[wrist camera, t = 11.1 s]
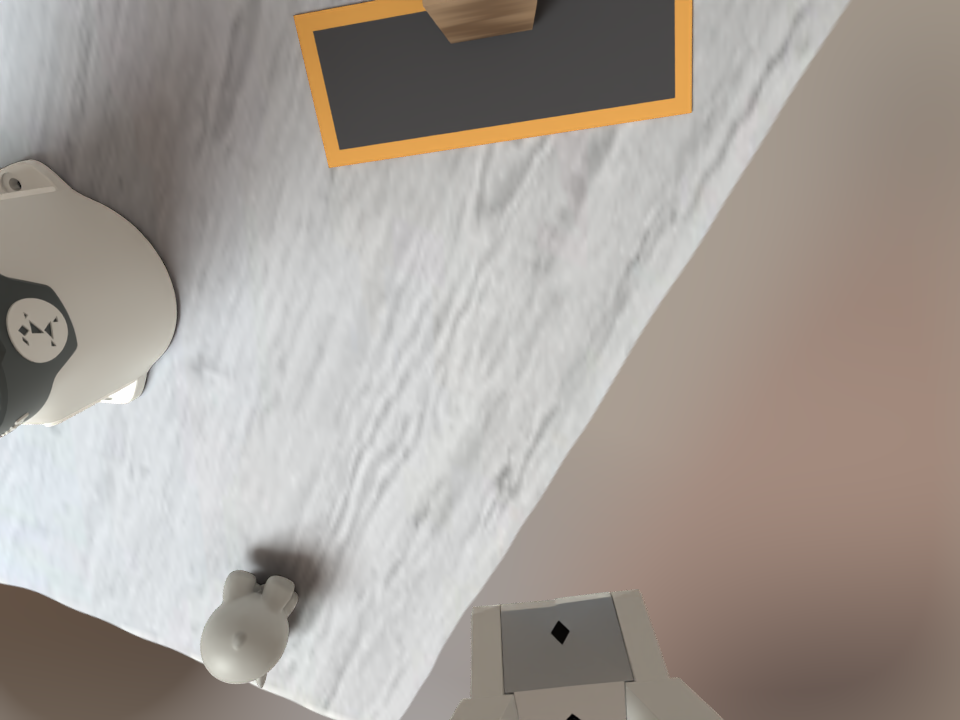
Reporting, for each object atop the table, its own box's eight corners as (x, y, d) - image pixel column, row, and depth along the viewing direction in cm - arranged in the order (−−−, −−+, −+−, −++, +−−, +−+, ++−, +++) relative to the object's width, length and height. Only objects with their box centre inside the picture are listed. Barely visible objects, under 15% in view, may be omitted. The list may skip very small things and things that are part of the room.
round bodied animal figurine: (244, 606, 58) (204, 697, 52) (224, 558, 49) (174, 660, 43) (311, 620, 58) (279, 713, 52) (303, 574, 49) (263, 678, 43)
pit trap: (329, 167, 37) (329, 167, 37) (294, 16, 34) (293, 15, 34) (691, 112, 35) (691, 112, 35) (691, -58, 31) (692, -59, 31)
